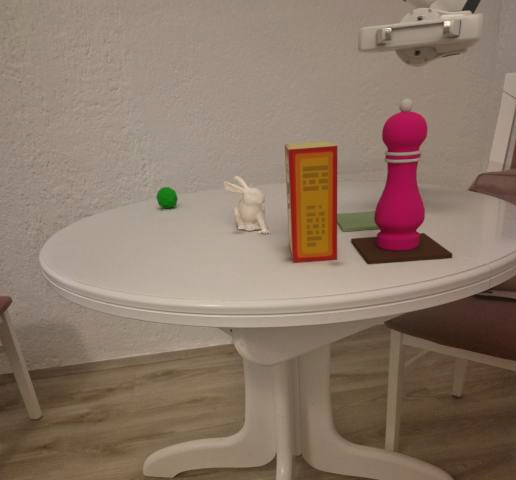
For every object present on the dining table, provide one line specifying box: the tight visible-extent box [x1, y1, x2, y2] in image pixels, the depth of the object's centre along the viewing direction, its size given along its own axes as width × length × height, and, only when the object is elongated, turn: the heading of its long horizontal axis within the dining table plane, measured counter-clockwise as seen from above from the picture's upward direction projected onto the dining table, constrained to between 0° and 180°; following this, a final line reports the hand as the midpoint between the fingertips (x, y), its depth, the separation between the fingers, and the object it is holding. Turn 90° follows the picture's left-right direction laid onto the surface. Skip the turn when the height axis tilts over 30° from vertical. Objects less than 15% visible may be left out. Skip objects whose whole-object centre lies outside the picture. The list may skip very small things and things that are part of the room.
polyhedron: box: [156, 186, 179, 210], centre depth 116 cm, size 5×5×5 cm
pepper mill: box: [374, 98, 428, 251], centre depth 69 cm, size 7×7×20 cm
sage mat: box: [337, 210, 380, 233], centre depth 90 cm, size 12×12×1 cm
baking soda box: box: [284, 140, 338, 264], centre depth 72 cm, size 10×6×16 cm
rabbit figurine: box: [222, 175, 270, 235], centre depth 90 cm, size 12×8×10 cm, turn 5°
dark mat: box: [350, 232, 453, 265], centre depth 73 cm, size 12×12×1 cm
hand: (416, 30), depth 77 cm, fingers open, 8 cm apart
